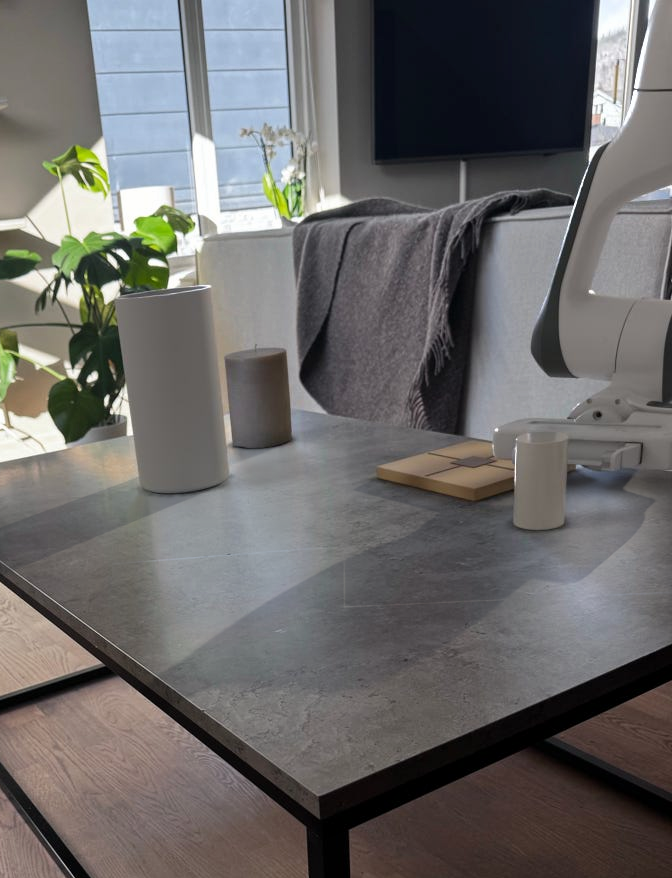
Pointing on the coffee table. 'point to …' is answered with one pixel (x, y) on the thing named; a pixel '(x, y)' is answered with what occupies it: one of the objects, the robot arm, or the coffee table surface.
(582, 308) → the robot arm
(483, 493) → the game board
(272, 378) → the pillar candle
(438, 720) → the coffee table surface
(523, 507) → the white cylinder
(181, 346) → the cylinder vase
